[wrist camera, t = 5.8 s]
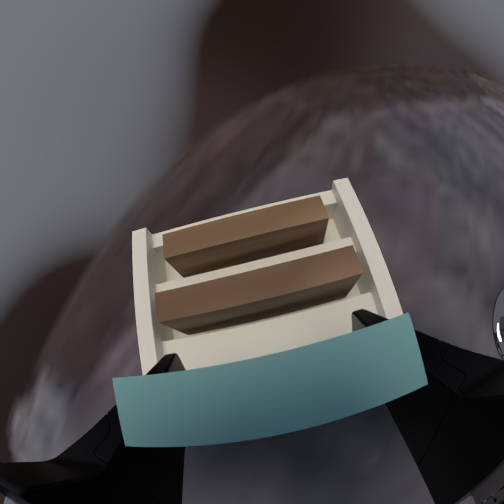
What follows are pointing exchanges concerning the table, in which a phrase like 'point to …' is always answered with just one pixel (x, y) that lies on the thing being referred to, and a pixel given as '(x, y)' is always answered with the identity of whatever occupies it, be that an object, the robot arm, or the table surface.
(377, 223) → the table surface
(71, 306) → the table surface
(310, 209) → the walnut offcut
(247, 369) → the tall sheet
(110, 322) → the table surface
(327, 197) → the offcut rack
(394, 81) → the table surface
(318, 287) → the walnut offcut
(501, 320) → the wine glass
